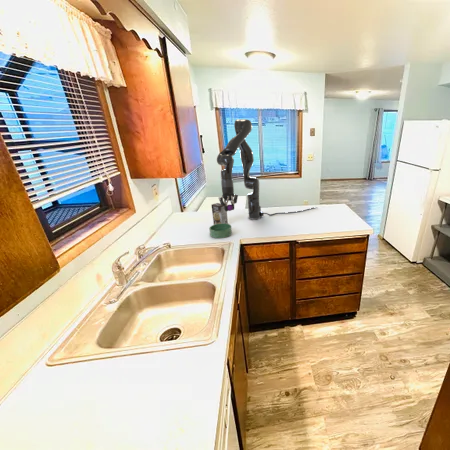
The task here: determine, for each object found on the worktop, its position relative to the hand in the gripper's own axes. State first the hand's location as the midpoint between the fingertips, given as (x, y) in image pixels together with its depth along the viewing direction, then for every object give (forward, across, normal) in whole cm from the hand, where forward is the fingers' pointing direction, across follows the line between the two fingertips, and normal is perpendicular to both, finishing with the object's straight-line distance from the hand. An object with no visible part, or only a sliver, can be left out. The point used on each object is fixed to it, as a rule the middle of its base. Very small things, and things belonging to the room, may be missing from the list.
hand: (229, 210), depth 163 cm
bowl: (+16, -8, 0) cm, 18 cm away
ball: (-2, 0, 0) cm, 2 cm away
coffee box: (+16, +2, +17) cm, 24 cm away
